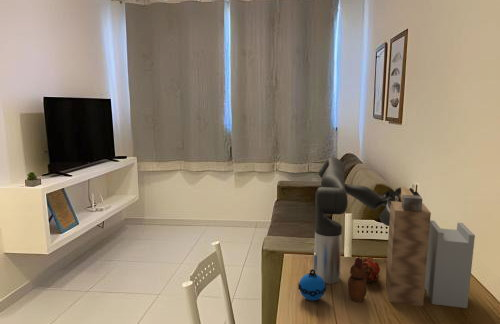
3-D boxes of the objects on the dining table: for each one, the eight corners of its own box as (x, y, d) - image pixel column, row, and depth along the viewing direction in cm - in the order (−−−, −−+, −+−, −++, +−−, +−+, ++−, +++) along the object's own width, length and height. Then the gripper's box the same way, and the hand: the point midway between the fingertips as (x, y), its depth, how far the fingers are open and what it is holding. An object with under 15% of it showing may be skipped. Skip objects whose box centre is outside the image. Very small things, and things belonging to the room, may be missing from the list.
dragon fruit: (366, 292, 127) (363, 280, 138) (387, 279, 125) (383, 269, 137) (351, 270, 128) (349, 261, 139) (373, 258, 126) (369, 249, 138)
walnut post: (388, 301, 118) (395, 210, 113) (385, 285, 128) (390, 201, 123) (422, 305, 115) (430, 212, 111) (416, 288, 126) (423, 203, 121)
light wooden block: (403, 210, 113) (404, 197, 112) (395, 195, 132) (395, 184, 131) (421, 211, 112) (422, 198, 111) (410, 195, 131) (410, 184, 130)
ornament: (323, 292, 123) (324, 264, 121) (326, 306, 115) (327, 276, 113) (297, 291, 124) (298, 263, 122) (298, 305, 115) (299, 275, 114)
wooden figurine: (366, 304, 116) (369, 259, 113) (347, 302, 117) (349, 257, 115) (364, 294, 122) (367, 251, 120) (346, 292, 123) (348, 249, 121)
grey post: (432, 303, 116) (438, 232, 113) (424, 285, 128) (429, 220, 124) (467, 308, 114) (474, 235, 110) (456, 289, 126) (462, 222, 122)
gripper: (378, 193, 144) (383, 178, 129) (417, 195, 141) (427, 181, 125) (378, 212, 142) (383, 199, 126) (417, 214, 138) (428, 202, 123)
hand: (405, 190), depth 126 cm, fingers closed on light wooden block, 3 cm apart
